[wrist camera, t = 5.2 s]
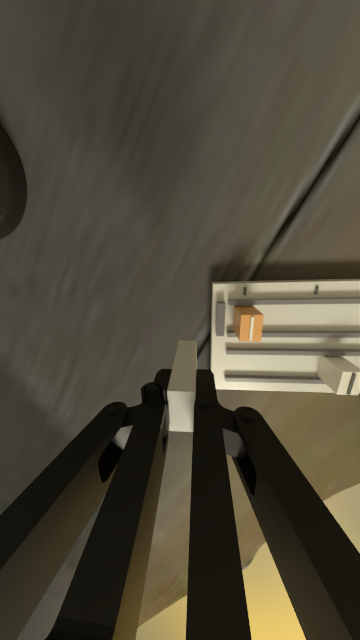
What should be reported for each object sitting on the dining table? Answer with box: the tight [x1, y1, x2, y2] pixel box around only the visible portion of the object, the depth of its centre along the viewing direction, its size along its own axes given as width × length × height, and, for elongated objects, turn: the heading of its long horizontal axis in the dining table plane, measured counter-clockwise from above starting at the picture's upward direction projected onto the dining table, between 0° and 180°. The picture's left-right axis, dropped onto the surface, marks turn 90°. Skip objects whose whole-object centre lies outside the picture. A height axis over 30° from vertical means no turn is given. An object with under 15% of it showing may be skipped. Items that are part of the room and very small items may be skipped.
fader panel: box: [210, 279, 360, 395], centre depth 24 cm, size 16×26×6 cm, turn 92°
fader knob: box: [233, 306, 264, 342], centre depth 23 cm, size 3×2×4 cm
